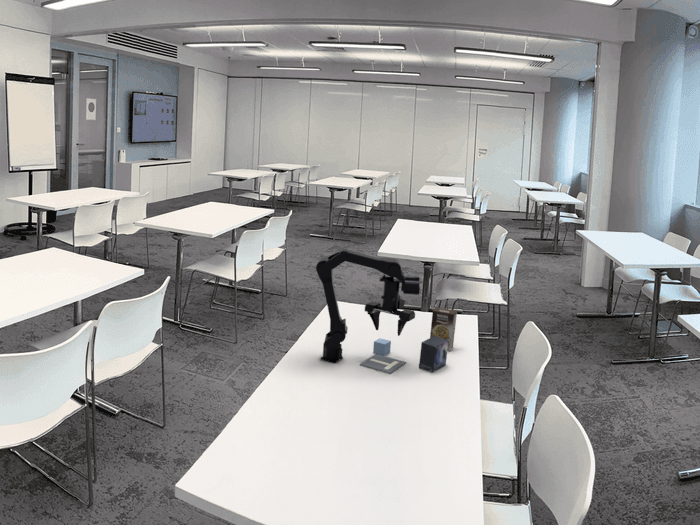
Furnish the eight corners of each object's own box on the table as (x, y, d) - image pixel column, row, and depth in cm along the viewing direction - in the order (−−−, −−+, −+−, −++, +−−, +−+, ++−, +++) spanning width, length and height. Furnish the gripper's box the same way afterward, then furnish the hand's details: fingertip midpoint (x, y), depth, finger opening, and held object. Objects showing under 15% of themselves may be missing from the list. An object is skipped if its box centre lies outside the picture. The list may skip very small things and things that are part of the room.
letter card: (359, 365, 218) (359, 363, 218) (376, 354, 229) (376, 353, 229) (390, 374, 212) (390, 372, 212) (406, 363, 223) (406, 361, 223)
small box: (433, 373, 215) (435, 346, 213) (418, 368, 219) (420, 341, 216) (446, 365, 223) (449, 339, 221) (432, 360, 227) (434, 335, 225)
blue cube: (373, 353, 231) (373, 341, 230) (379, 349, 235) (379, 338, 234) (384, 356, 228) (385, 344, 227) (390, 352, 233) (391, 340, 232)
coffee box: (428, 347, 240) (431, 310, 237) (432, 343, 246) (435, 306, 242) (450, 352, 237) (454, 314, 233) (453, 347, 243) (457, 310, 239)
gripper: (423, 293, 218) (419, 332, 222) (379, 284, 227) (376, 322, 231) (410, 299, 209) (406, 340, 212) (365, 290, 218) (362, 329, 222)
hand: (387, 332), depth 220 cm, fingers open, 9 cm apart
